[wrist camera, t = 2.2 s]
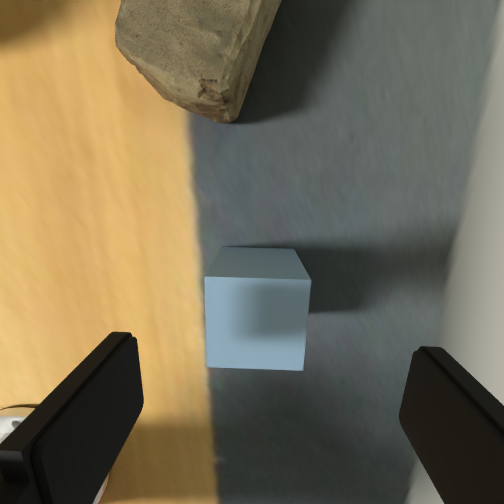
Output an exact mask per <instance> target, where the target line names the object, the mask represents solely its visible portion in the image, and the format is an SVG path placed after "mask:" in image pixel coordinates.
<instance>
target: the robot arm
mask: <svg viewBox="0 0 504 504" xmlns="http://www.w3.org/2000/svg"><path fill="white" fill-rule="evenodd" d="M143 403H144V397H143V389H142V380H141V371H140V362H139V354H138V345H137V339H136V337H133V336H132V334H131V333H130V332H112V333H110V334H109V335H108V336H107V337H106V338H105V339H104V340H103V341H102V342H101V343H100V344H99V345H98V346H97V347H96V348H95V349H94V350H93V351H92V352H91V353H90V354H89V355H88V356H87V357H86V358H85V359H84V360H83V361H82V362H81V363H80V364H79V365H78V366H77V367H76V368H75V369H74V370H73V371H72V372H71V373H70V374H69V375H68V376H67V377H66V378H65V379H64V380H63V381H62V382H61V383H60V384H59V385H58V386H57V387H56V388H55V389H54V390H53V391H52V392H51V393H50V394H49V395H48V396H47V397H46V398H45V399H44V400H43V401H42V402H41V403H40V404H39V405H38V406H37V407H36V408H26V407H18V408H7V409H3V410H0V504H98V502H99V500H100V498H101V497H102V495H103V493H104V491H105V489H106V486H107V483H108V478H109V471H110V470H111V468H112V466H113V464H114V462H115V460H116V458H117V456H118V454H119V453H120V451H121V449H122V447H123V445H124V443H125V441H126V439H127V437H128V435H129V434H130V432H131V430H132V428H133V426H134V424H135V422H136V420H137V418H138V417H139V415H140V413H141V410H142V408H143ZM399 420H400V424H401V426H402V429H403V430H404V432H405V434H406V436H407V437H408V439H409V441H410V443H411V445H412V446H413V448H414V450H415V452H416V454H417V455H418V457H419V459H420V461H421V463H422V464H423V466H424V468H425V470H426V471H427V473H428V475H429V477H430V479H431V480H432V482H433V484H434V486H435V488H436V489H437V491H438V493H439V495H440V497H441V499H442V500H443V502H444V504H504V406H503V405H502V404H501V403H500V402H499V401H498V400H497V399H496V398H495V397H494V396H493V395H492V394H491V393H490V392H488V391H487V389H486V388H484V387H483V386H482V385H481V384H480V383H479V382H478V381H477V380H476V379H475V378H474V377H473V376H472V375H471V374H470V373H469V372H467V371H466V370H465V369H464V368H463V367H462V366H461V365H460V364H459V363H458V362H457V361H456V360H455V359H454V358H453V357H452V356H451V355H449V354H448V353H447V352H446V351H445V350H444V349H443V348H441V347H428V346H421V347H419V349H418V351H414V353H413V356H412V360H411V365H410V369H409V373H408V378H407V382H406V386H405V391H404V395H403V399H402V403H401V408H400V412H399Z"/></svg>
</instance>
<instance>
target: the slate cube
mask: <svg viewBox="0 0 504 504" xmlns="http://www.w3.org/2000/svg"><path fill="white" fill-rule="evenodd" d="M310 288H311V279H310V277H309V275H308V273H307V272H306V270H305V268H304V266H303V264H302V263H301V261H300V259H299V257H298V255H297V254H296V252H295V250H294V249H281V248H249V247H221V249H220V251H219V252H218V254H217V256H216V258H215V259H214V261H213V263H212V265H211V266H210V268H209V270H208V272H207V273H206V275H205V314H206V358H207V367H219V368H246V369H273V370H300V371H303V365H304V354H305V343H306V332H307V321H308V310H309V299H310Z"/></svg>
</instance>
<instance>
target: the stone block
mask: <svg viewBox="0 0 504 504" xmlns="http://www.w3.org/2000/svg"><path fill="white" fill-rule="evenodd" d="M281 1H282V0H121V5H120V9H119V12H118V16H117V19H116V22H115V41H116V47H117V48H118V49H119V51H120V52H121V53H122V54H123V56H124V57H125V58H126V59H127V60H128V61H129V62H130V63H131V64H133V65H135V66H136V68H137V70H138V71H139V73H141V74H142V75H143V76H144V77H145V79H146V80H147V81H148V82H149V83H150V84H151V85H152V86H153V87H154V88H155V90H156V91H157V92H158V93H159V94H160V95H161V96H162V97H163V98H164V99H166V100H168V101H171V102H173V103H175V104H176V105H178V106H180V107H182V108H184V109H186V110H187V111H191V112H194V113H197V114H199V115H201V116H203V117H205V118H209V119H210V120H211V121H214V122H217V123H230V122H232V121H234V120H235V119H237V118H238V115H239V112H240V110H241V107H242V104H243V102H244V99H245V96H246V93H247V90H248V87H249V85H250V82H251V80H252V77H253V74H254V71H255V68H256V65H257V62H258V59H259V56H260V53H261V50H262V47H263V44H264V41H265V39H266V37H267V35H268V33H269V31H270V29H271V26H272V23H273V21H274V18H275V15H276V12H277V10H278V8H279V5H280V3H281Z"/></svg>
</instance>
